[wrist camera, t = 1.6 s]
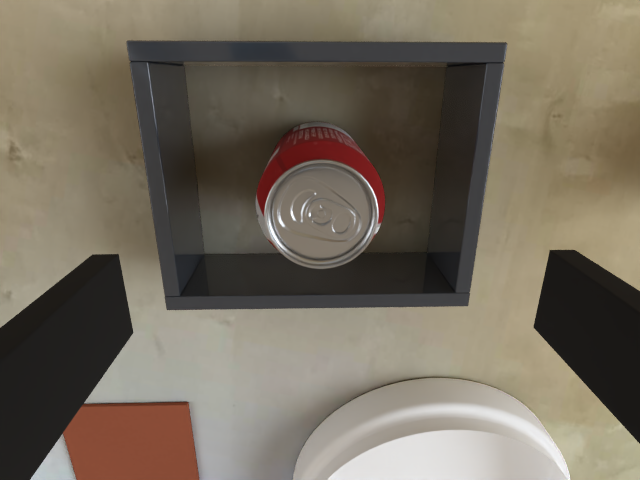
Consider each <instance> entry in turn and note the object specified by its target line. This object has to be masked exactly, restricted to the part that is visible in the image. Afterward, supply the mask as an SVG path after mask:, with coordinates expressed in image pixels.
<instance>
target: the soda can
mask: <svg viewBox="0 0 640 480" xmlns="http://www.w3.org/2000/svg"><path fill="white" fill-rule="evenodd" d="M384 210H385V195H384V189H383V185H382V182H381V179H380V177H379V175H378V173H377V171H376V170H375V168H374V166H373V165H372V164H371V162H370V161H369V160H368V158H367V157H366V156H365V154H364V153H363V152H362V150H361V149H360V148H359V146H358V145H357V144H356V142H355V141H354V140H353V138H352V137H351V136H350V135H349V134H348V133H347V132H345V131H344V130H343V129H341V128H339V127H338V126H335V125H333V124H330V123H326V122H308V123H304V124H301V125H298V126H296V127H294V128H292V129H291V130H289V131H288V132H287V133H286V134H285V135H284V136H283V137H282V138H281V139H280V140H279V142H278V143H277V145H276V147H275V149H274V151H273V153H272V155H271V157H270V160H269V162H268V164H267V166H266V168H265V170H264V172H263V175H262V177H261V179H260V182H259V184H258V188H257V193H256V214H257V218H258V222H259V225H260V227H261V229H262V231H263V233H264V235H265V236H266V238H267V239H268V241H269V242H270V243H271V244H272V245H273V246H274V247H275V248H276V249H277V250H278V251H279V252H280V253H281V254H283V255H284V256H285V257H286V258H288V259H289V260H291V261H292V262H294V263H297V264H299V265H302V266H305V267H309V268H316V269H326V268H333V267H337V266H340V265H343V264H345V263H347V262H349V261H351V260H353V259H354V258H356V257H357V256H358V255H359V254H361V253H362V252H363V251H364V250H365V249H366V247H367V246H368V245H369V243H370V242H371V241H372V239H373V238H374V237H375V235H376V233H377V232H378V230H379V228H380V225H381V223H382V219H383V216H384Z"/></svg>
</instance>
